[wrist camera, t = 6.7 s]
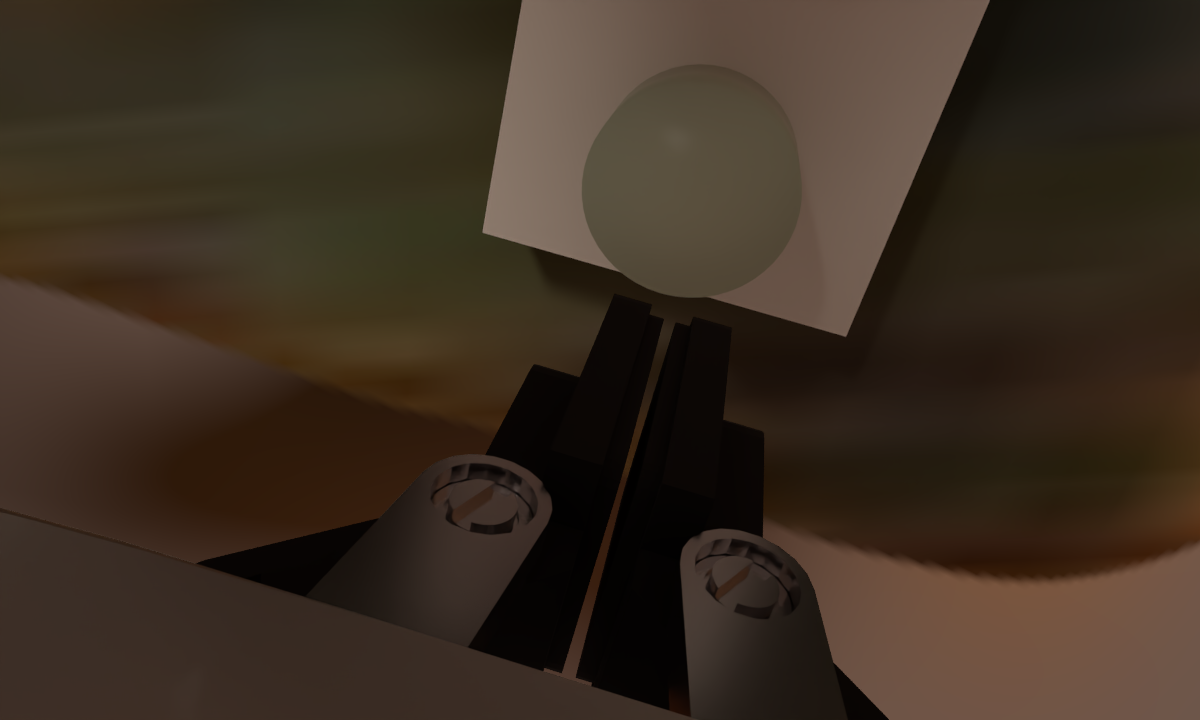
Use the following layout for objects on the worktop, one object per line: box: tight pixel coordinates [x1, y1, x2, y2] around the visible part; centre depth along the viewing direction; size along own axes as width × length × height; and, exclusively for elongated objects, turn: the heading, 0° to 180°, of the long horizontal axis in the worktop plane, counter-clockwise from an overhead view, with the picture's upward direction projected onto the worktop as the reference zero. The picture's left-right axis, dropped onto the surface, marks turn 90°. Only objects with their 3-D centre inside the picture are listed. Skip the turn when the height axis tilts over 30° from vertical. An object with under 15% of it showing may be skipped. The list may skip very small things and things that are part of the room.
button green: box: [582, 64, 802, 298], centre depth 21 cm, size 5×5×2 cm
